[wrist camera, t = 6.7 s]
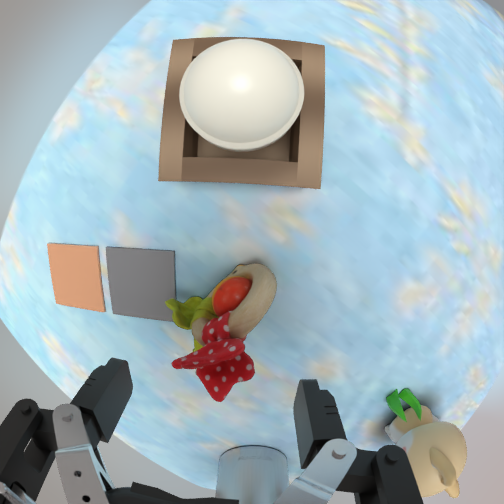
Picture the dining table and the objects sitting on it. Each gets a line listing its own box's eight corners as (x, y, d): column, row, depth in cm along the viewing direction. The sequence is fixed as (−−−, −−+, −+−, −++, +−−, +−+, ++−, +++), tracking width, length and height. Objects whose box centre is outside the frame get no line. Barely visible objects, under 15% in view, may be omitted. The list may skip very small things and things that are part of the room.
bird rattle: (217, 240, 25) (149, 318, 23) (253, 221, 14) (134, 358, 12) (267, 286, 26) (204, 361, 24) (333, 299, 15) (230, 424, 13)
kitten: (354, 412, 28) (390, 513, 13) (424, 365, 26) (488, 451, 12) (387, 451, 31) (416, 523, 16) (442, 416, 29) (483, 481, 15)
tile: (105, 311, 24) (104, 312, 24) (57, 302, 24) (56, 303, 24) (98, 246, 23) (96, 246, 22) (48, 242, 23) (47, 243, 22)
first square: (177, 320, 24) (176, 321, 24) (114, 312, 24) (112, 313, 24) (174, 250, 23) (173, 251, 22) (107, 246, 23) (105, 247, 22)
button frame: (305, 187, 21) (320, 189, 17) (178, 180, 21) (158, 181, 16) (310, 70, 19) (324, 45, 14) (188, 65, 19) (173, 40, 14)
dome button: (289, 159, 18) (312, 146, 11) (193, 154, 18) (158, 140, 11) (293, 73, 16) (313, 22, 9) (201, 69, 16) (175, 18, 9)
